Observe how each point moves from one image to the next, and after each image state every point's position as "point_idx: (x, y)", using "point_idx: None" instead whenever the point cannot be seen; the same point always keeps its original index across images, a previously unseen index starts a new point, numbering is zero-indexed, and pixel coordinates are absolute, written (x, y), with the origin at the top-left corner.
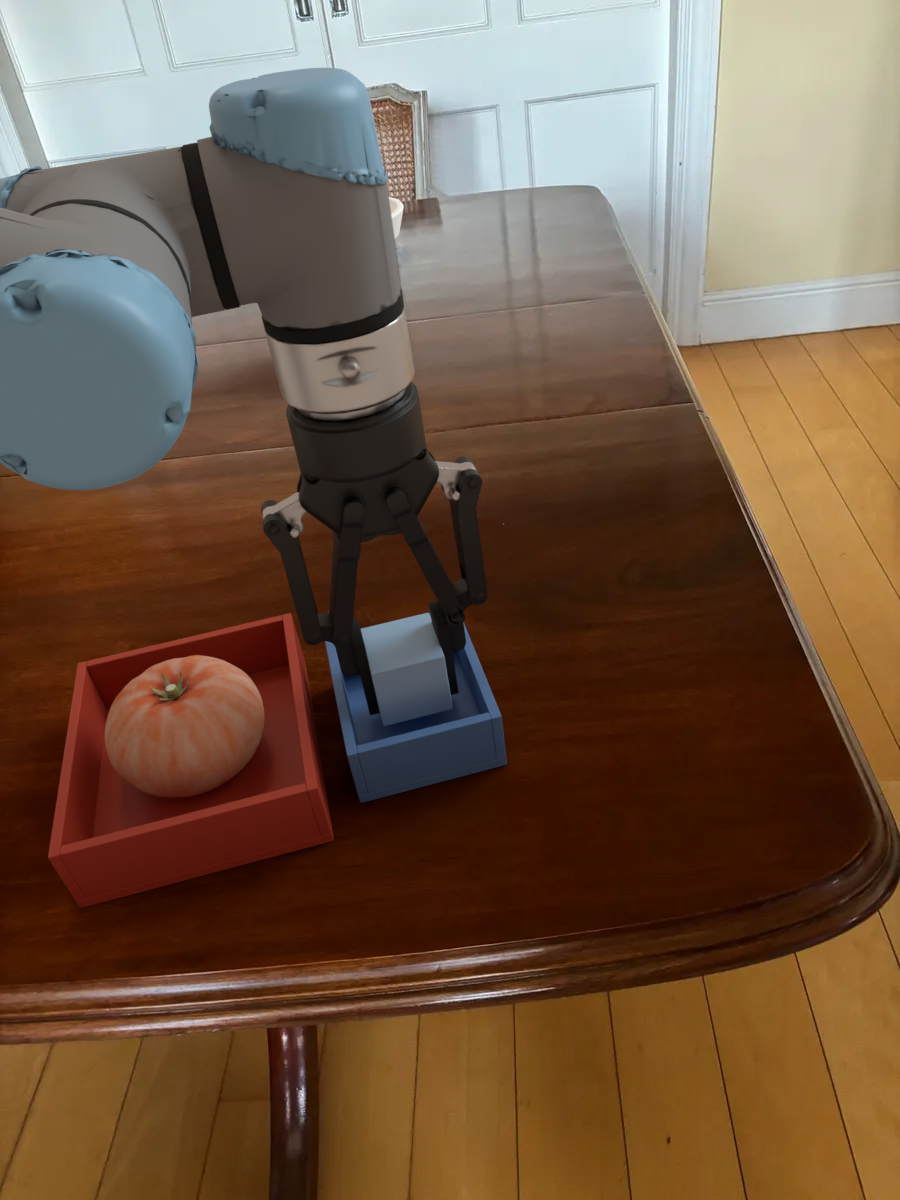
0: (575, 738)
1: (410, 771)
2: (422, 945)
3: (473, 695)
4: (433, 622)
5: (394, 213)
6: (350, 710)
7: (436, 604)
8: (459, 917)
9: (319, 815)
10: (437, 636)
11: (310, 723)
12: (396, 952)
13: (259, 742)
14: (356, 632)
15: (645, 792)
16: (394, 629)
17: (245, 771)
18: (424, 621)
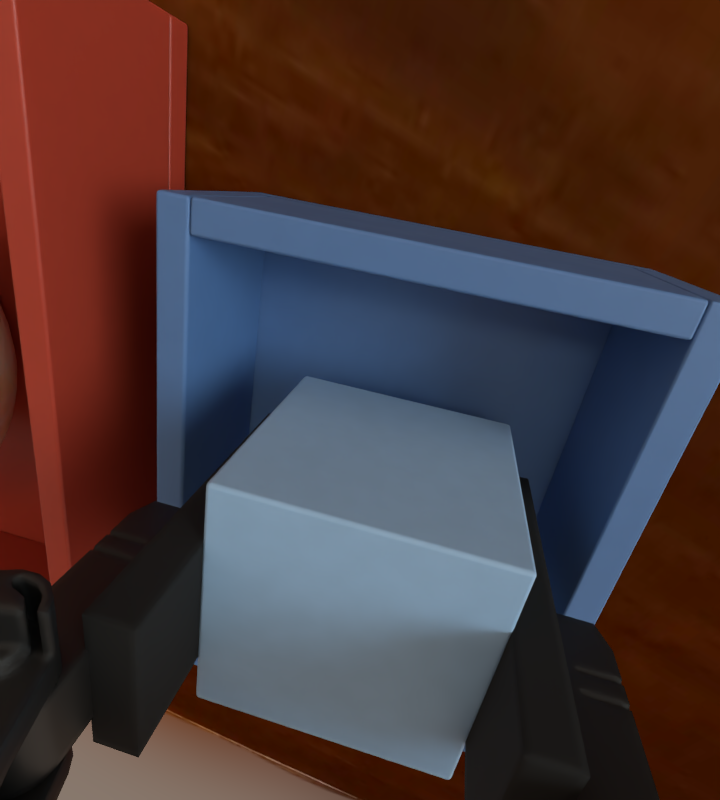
0: (671, 652)
1: None
2: (254, 745)
3: (550, 494)
4: (494, 726)
5: None
6: (249, 369)
7: (552, 790)
8: (308, 748)
9: None
10: (475, 736)
11: (111, 463)
12: (223, 734)
13: (1, 439)
14: (115, 696)
15: (677, 782)
16: (342, 575)
17: (24, 390)
18: (484, 612)
